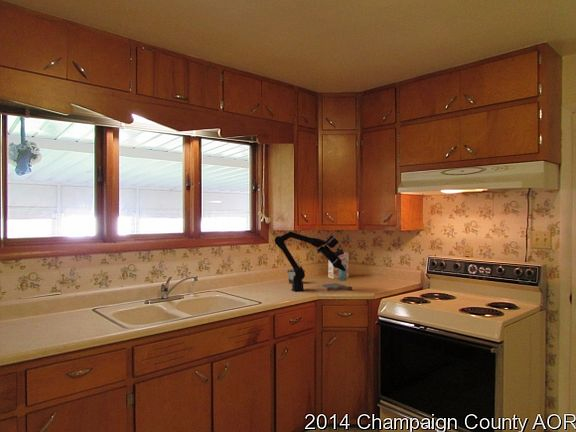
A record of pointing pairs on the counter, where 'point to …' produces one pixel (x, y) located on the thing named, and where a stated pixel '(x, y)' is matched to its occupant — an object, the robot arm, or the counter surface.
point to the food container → (291, 275)
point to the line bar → (339, 288)
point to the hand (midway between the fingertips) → (344, 270)
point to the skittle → (343, 273)
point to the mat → (333, 285)
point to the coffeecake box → (334, 271)
